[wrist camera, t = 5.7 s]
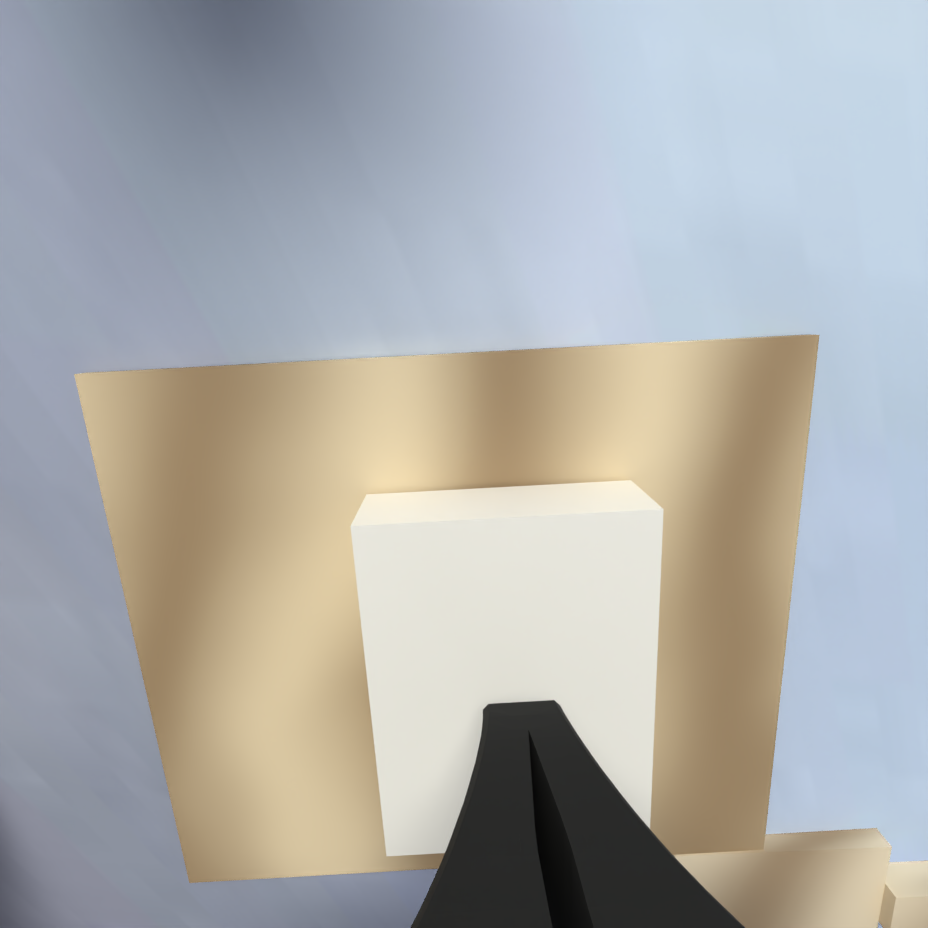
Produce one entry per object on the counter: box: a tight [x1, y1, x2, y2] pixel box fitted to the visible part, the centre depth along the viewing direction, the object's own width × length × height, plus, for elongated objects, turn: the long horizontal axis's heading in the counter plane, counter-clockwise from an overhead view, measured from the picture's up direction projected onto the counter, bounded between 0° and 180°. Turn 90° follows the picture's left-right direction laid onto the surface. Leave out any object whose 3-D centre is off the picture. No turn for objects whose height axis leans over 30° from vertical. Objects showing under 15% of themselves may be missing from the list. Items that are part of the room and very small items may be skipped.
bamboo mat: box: [74, 335, 819, 883], centre depth 14 cm, size 16×14×1 cm
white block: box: [350, 480, 664, 856], centre depth 13 cm, size 2×8×6 cm
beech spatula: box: [673, 828, 928, 928], centre depth 16 cm, size 13×4×1 cm, turn 93°
